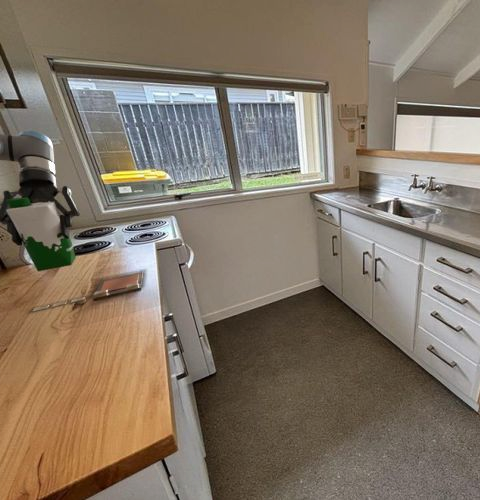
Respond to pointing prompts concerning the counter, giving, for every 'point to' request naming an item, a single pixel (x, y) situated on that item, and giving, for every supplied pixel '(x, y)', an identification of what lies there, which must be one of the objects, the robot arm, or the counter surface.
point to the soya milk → (41, 233)
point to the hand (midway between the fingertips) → (42, 239)
